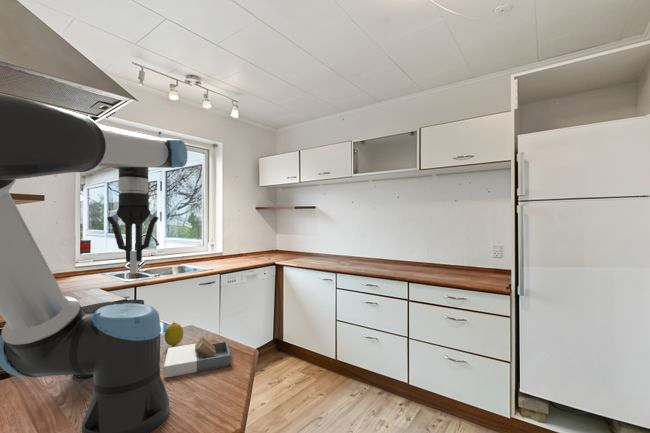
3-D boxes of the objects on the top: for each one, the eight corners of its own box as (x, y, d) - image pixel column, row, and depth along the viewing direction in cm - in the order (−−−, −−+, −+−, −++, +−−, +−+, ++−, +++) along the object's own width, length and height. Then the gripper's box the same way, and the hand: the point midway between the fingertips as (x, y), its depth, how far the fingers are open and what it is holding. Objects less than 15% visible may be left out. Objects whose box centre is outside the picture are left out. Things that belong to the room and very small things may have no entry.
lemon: (162, 346, 101) (162, 322, 101) (180, 342, 104) (180, 318, 104) (167, 351, 96) (167, 326, 97) (185, 346, 100) (185, 322, 100)
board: (196, 371, 83) (196, 360, 83) (163, 378, 80) (163, 366, 80) (196, 353, 95) (196, 343, 95) (168, 357, 92) (168, 347, 92)
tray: (230, 365, 87) (230, 355, 87) (197, 371, 83) (197, 360, 83) (227, 350, 97) (227, 341, 97) (197, 355, 93) (197, 345, 94)
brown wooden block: (207, 361, 88) (215, 353, 89) (194, 351, 87) (203, 342, 88) (207, 354, 93) (214, 346, 94) (195, 344, 92) (202, 336, 92)
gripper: (160, 194, 96) (160, 269, 96) (111, 193, 91) (111, 272, 90) (157, 192, 89) (157, 273, 89) (103, 191, 84) (103, 276, 84)
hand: (134, 272), depth 90 cm, fingers closed
